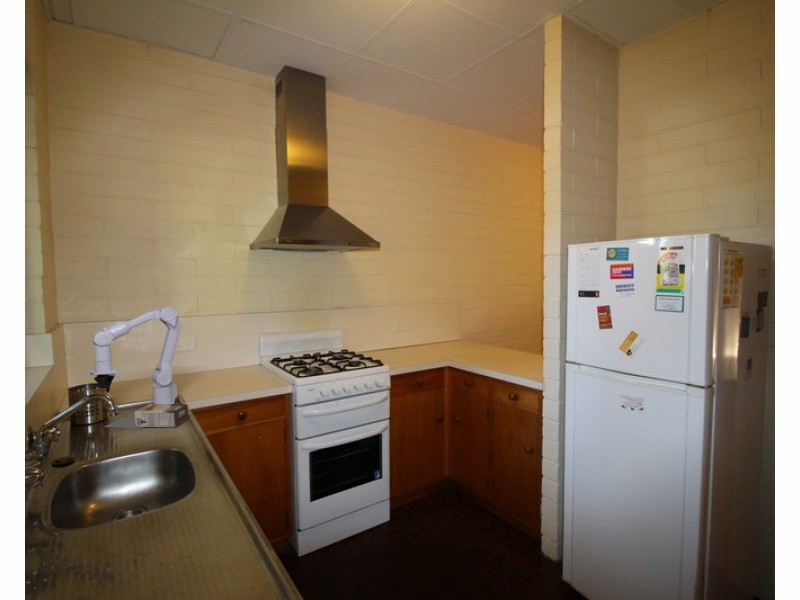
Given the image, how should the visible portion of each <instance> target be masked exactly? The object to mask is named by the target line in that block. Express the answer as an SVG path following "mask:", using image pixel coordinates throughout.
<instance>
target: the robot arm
mask: <svg viewBox="0 0 800 600" xmlns="http://www.w3.org/2000/svg"><path fill="white" fill-rule="evenodd" d="M149 321H161V322H162V323H163V324H164V326H165V327H166V328H167V331H166V332H165V333H166V335H165V337H164V341H163V345H162V350H161V352H160V356H159V361H158V363H156V365H155V368H154V370H153V371H152V373H151V375H150V379H151V381H152V382H153V384H152V390H153V391H152V392H153V394H152V395H153V404H176V403H175V402H174V401H175V398H176V397H177V396H179V395H178V386H177V384H176V383H175V382H172V381H173V374H172V373H173V366H172V364H173V360H174V357H175V353H176V349H177V344H178V340H179V337H180V333H181V330H182V324H181V320H180V318H179V313H178V311H176V310H175V308H172V307H170V306H165V305H162V306H161V305H160V306H157V308H155V307H154V308H152V309H150V310H148V311H146V312H143V313H142V314H140V315H137V316H136V317H133V318H132V319H130V320H128V321H124V320H121V321H115V322H114V324H112V325H110V326H107V327H102V330H96V331H95V332H94V333H93V334H92V335H91V338H90V340H91V343H93V358H94V369H89V370H86V376H95V377H94V378H93V380H94V381H95V382H96V383H97V385H98V387H99V389H100V388H106V391H107V393H110V389H111V385H112V382H113V380H114V378H115V377H120V376H122V375H123V374H122V370H120V369H119V370H118V369H113V359H112V349H111V343H112V341H115V340H117V339H119V338H121V337H123V336H125V335H126V336H127V334H128V335H129V334H130V332H131V330H132V329H133V328H136V327H137V326H140V325H142V324H145V323H147V322H149ZM107 393H106V394H107Z"/></svg>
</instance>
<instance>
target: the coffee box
mask: <svg viewBox="0 0 800 600" xmlns="http://www.w3.org/2000/svg"><path fill="white" fill-rule="evenodd" d="M188 407H189V406H188V404H178V403H177V404H176V403H174V404H154V403H149V404H146V405H145V406H143V407H141V408H139V409H137V410H135V411H134V419H135V425H136V427H144V428H178V427H179V426H181V425H182V424H183V423H185V422H187V421H188V420H189V419H188V418H189V408H188ZM187 419H188V420H187Z"/></svg>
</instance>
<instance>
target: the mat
mask: <svg viewBox="0 0 800 600" xmlns="http://www.w3.org/2000/svg"><path fill="white" fill-rule="evenodd" d="M104 428H112V429H113V428H116V429H133V430H141V429H144V428H145V427H136V425H135V417H133V418H132V417H131V418H129V417H123V418H120V419H117V420H116V421H113V422H112V423H109V424H107V425H105V426H104Z"/></svg>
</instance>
